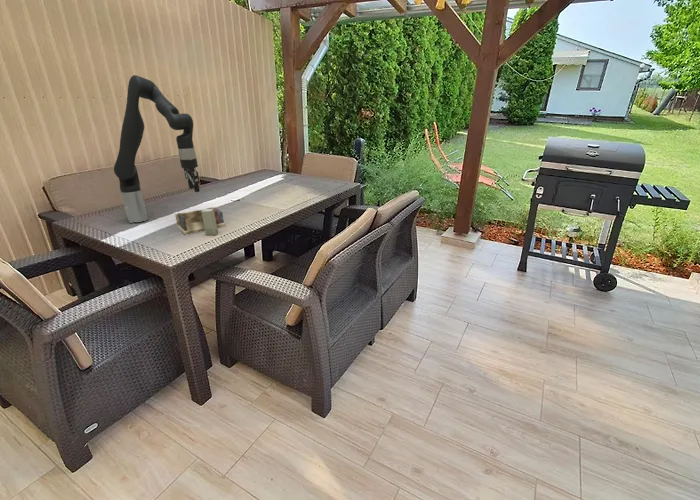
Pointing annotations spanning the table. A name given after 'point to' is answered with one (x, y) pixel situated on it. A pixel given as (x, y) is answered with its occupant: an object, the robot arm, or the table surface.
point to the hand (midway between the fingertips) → (194, 190)
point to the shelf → (196, 221)
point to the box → (209, 221)
